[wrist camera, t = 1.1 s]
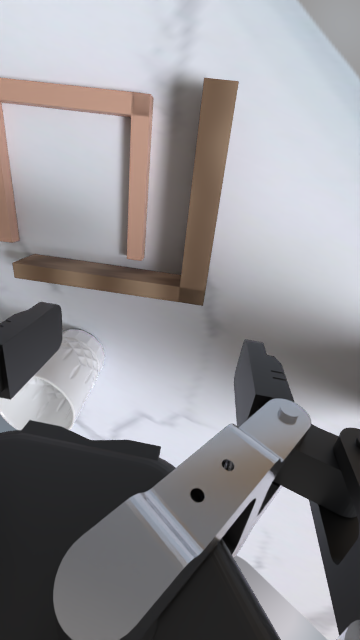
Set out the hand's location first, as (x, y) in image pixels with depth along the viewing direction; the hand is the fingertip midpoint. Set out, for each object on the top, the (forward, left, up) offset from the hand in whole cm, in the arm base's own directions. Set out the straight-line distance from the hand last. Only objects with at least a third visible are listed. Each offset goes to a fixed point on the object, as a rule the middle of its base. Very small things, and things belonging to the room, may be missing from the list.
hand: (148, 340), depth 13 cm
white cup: (+12, +14, -19) cm, 27 cm away
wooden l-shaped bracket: (+7, -4, -19) cm, 21 cm away
